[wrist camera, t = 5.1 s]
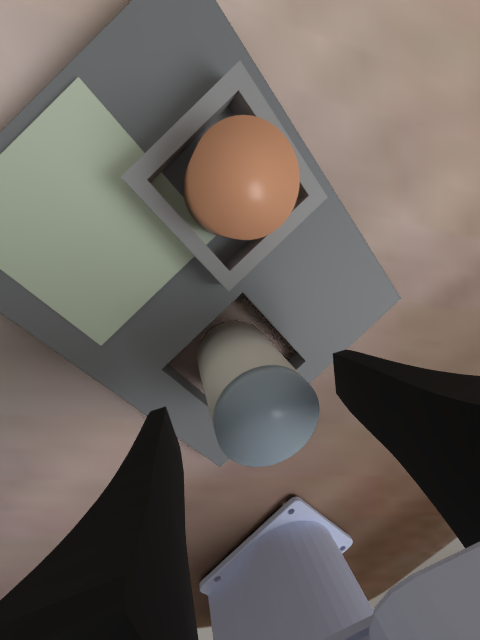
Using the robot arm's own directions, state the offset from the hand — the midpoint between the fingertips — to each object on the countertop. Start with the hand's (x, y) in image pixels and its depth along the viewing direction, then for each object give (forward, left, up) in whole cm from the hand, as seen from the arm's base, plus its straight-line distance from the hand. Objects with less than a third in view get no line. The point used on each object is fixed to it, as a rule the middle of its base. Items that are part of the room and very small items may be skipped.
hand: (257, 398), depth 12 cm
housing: (+2, +4, -5) cm, 7 cm away
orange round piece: (+5, +6, -3) cm, 9 cm away
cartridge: (0, 0, -5) cm, 5 cm away
